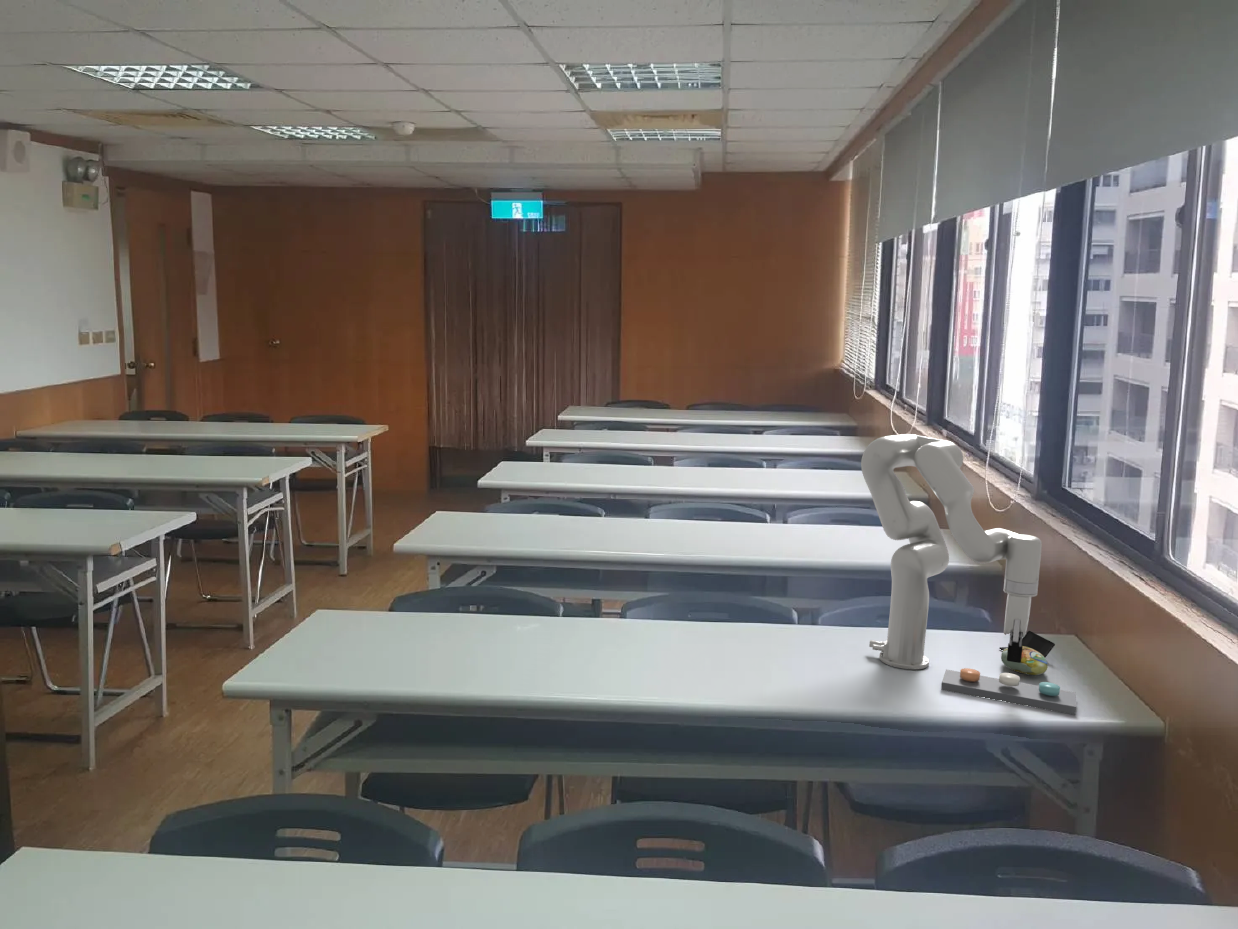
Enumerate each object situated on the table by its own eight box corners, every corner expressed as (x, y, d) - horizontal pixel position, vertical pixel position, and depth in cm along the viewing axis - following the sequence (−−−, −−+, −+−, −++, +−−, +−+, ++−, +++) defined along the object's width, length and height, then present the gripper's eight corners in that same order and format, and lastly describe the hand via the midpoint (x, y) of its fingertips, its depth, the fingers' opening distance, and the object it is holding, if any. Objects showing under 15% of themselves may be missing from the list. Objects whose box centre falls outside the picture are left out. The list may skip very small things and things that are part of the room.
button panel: (941, 690, 246) (941, 682, 246) (945, 676, 255) (946, 669, 255) (1075, 715, 235) (1076, 707, 234) (1074, 700, 244) (1075, 692, 244)
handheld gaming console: (993, 645, 277) (1017, 617, 277) (1006, 657, 281) (1029, 630, 281) (1025, 665, 267) (1049, 636, 267) (1037, 678, 271) (1061, 649, 271)
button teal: (1038, 693, 240) (1039, 687, 240) (1038, 687, 244) (1039, 680, 244) (1059, 697, 238) (1060, 690, 238) (1059, 690, 242) (1060, 684, 242)
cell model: (1040, 652, 270) (1057, 650, 255) (1033, 680, 268) (1050, 680, 254) (999, 639, 272) (1013, 637, 257) (992, 668, 270) (1006, 666, 256)
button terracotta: (958, 679, 247) (959, 672, 247) (960, 673, 251) (961, 667, 251) (978, 682, 245) (979, 676, 245) (980, 676, 249) (980, 670, 249)
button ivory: (998, 684, 243) (999, 677, 243) (999, 677, 248) (1000, 671, 247) (1018, 687, 242) (1019, 681, 241) (1019, 681, 246) (1020, 675, 246)
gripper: (1005, 577, 249) (998, 649, 252) (1002, 592, 235) (995, 667, 238) (1038, 581, 246) (1031, 654, 249) (1037, 596, 232) (1029, 673, 235)
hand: (1013, 660), depth 243 cm, fingers closed
